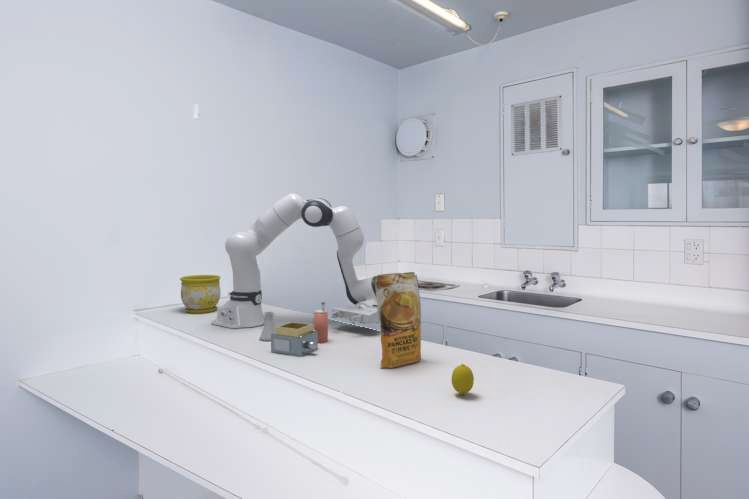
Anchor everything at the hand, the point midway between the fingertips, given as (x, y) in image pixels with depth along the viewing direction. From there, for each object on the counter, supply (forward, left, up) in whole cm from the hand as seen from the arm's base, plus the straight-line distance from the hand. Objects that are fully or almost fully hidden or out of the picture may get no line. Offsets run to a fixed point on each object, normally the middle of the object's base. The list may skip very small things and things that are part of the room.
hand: (341, 317), depth 179 cm
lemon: (+56, -41, -7) cm, 70 cm away
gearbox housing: (-3, -25, -7) cm, 26 cm away
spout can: (-3, -11, -7) cm, 13 cm away
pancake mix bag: (+32, -23, -7) cm, 40 cm away
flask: (-22, -16, -7) cm, 28 cm away
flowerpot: (-83, +13, -7) cm, 84 cm away
